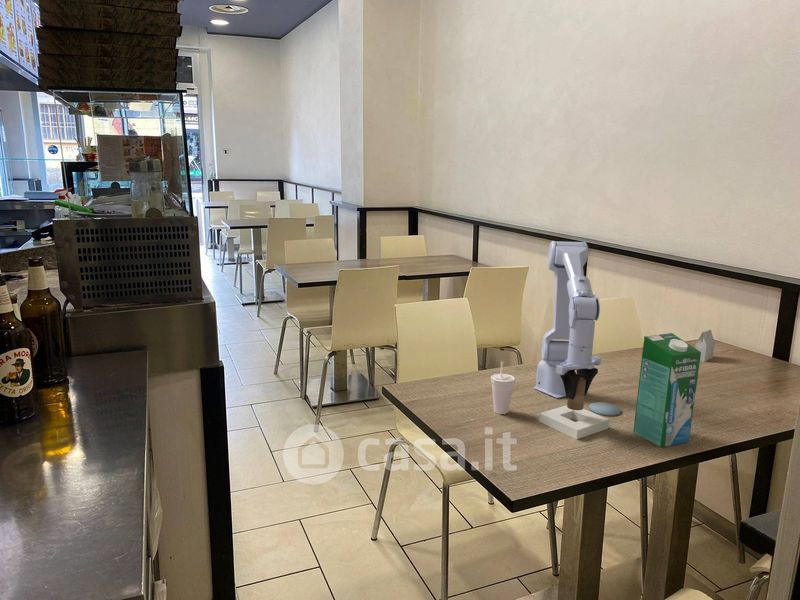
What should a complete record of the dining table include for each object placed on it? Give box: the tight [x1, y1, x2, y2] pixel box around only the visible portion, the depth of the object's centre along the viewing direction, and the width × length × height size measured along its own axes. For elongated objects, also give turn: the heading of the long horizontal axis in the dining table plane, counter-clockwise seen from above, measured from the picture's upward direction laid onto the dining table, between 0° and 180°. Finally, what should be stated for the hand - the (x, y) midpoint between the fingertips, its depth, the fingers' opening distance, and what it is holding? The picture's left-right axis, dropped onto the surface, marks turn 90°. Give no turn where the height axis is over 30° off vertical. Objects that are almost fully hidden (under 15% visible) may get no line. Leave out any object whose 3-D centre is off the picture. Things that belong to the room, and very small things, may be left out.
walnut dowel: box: [566, 377, 586, 410], centre depth 151 cm, size 4×4×8 cm
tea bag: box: [694, 329, 716, 363], centre depth 208 cm, size 4×7×10 cm, turn 131°
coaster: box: [588, 401, 621, 417], centre depth 163 cm, size 8×8×1 cm
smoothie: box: [490, 361, 516, 415], centre depth 159 cm, size 6×6×14 cm
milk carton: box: [632, 332, 701, 448], centre depth 145 cm, size 9×9×25 cm
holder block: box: [539, 404, 610, 440], centre depth 153 cm, size 12×12×2 cm
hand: (576, 396), depth 151 cm, fingers closed on walnut dowel, 4 cm apart
